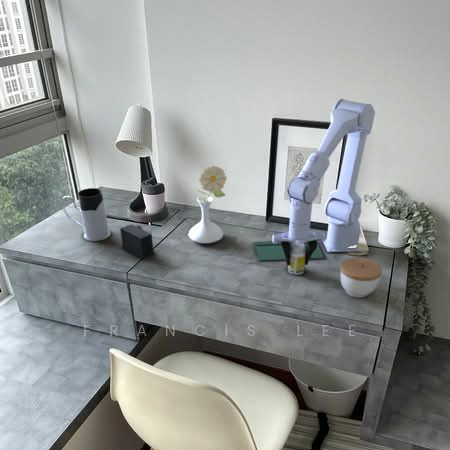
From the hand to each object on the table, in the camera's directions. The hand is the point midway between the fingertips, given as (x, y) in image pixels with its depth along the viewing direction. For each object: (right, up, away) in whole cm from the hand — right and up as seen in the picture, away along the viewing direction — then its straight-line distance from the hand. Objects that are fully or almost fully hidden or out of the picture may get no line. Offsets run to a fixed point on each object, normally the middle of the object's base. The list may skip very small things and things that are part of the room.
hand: (296, 263), depth 141 cm
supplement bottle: (0, -2, +1) cm, 3 cm away
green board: (-1, +5, +11) cm, 12 cm away
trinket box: (+16, -8, -8) cm, 19 cm away
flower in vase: (-26, +9, +19) cm, 33 cm away
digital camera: (-48, +5, +13) cm, 50 cm away
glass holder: (-67, +11, +22) cm, 71 cm away
